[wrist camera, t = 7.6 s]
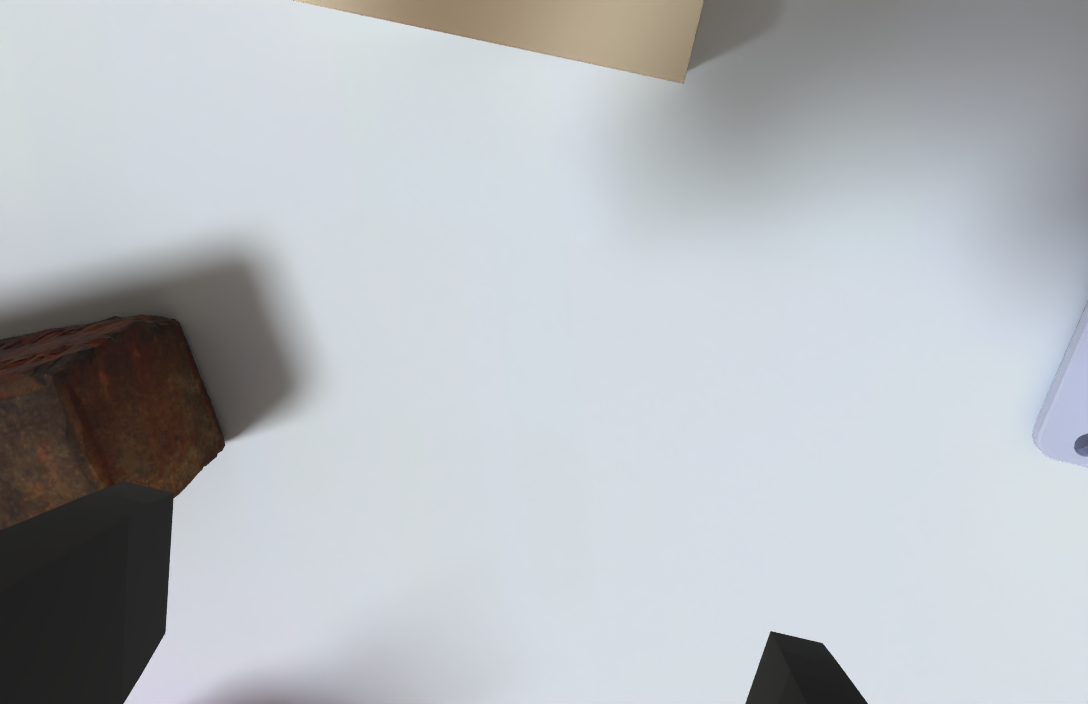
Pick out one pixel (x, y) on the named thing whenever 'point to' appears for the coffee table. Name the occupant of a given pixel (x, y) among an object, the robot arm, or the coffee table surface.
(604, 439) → the coffee table surface
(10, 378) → the brick
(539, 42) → the oak base
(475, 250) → the coffee table surface
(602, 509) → the coffee table surface
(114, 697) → the robot arm
